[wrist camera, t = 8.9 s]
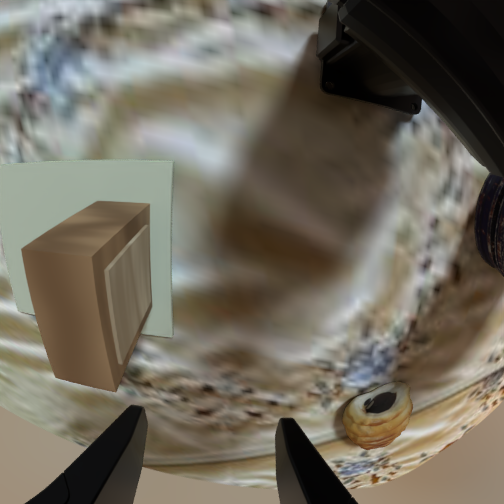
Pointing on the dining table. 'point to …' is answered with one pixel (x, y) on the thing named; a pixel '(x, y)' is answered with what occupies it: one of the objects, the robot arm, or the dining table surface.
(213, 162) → the dining table surface
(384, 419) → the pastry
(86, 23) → the dining table surface
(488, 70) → the robot arm
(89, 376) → the wooden block
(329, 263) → the dining table surface
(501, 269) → the storage jar
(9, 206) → the mat
